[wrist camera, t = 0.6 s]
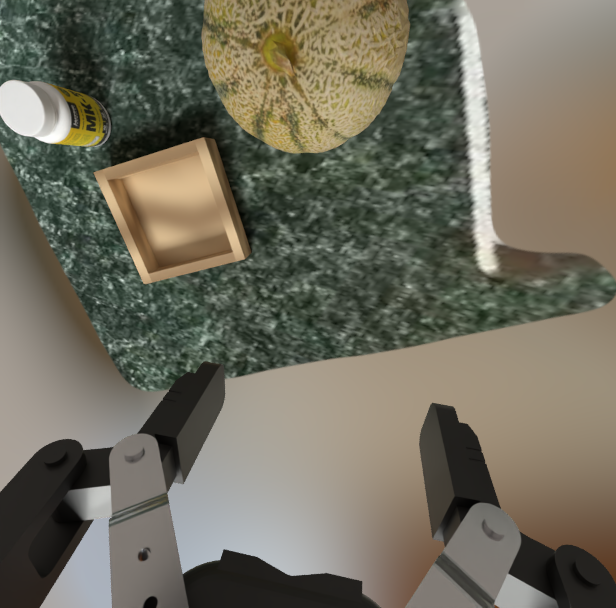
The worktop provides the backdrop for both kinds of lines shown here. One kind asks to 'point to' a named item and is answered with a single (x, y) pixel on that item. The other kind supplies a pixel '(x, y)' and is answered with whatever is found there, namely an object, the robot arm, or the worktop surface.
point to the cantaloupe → (304, 66)
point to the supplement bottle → (54, 114)
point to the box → (175, 210)
